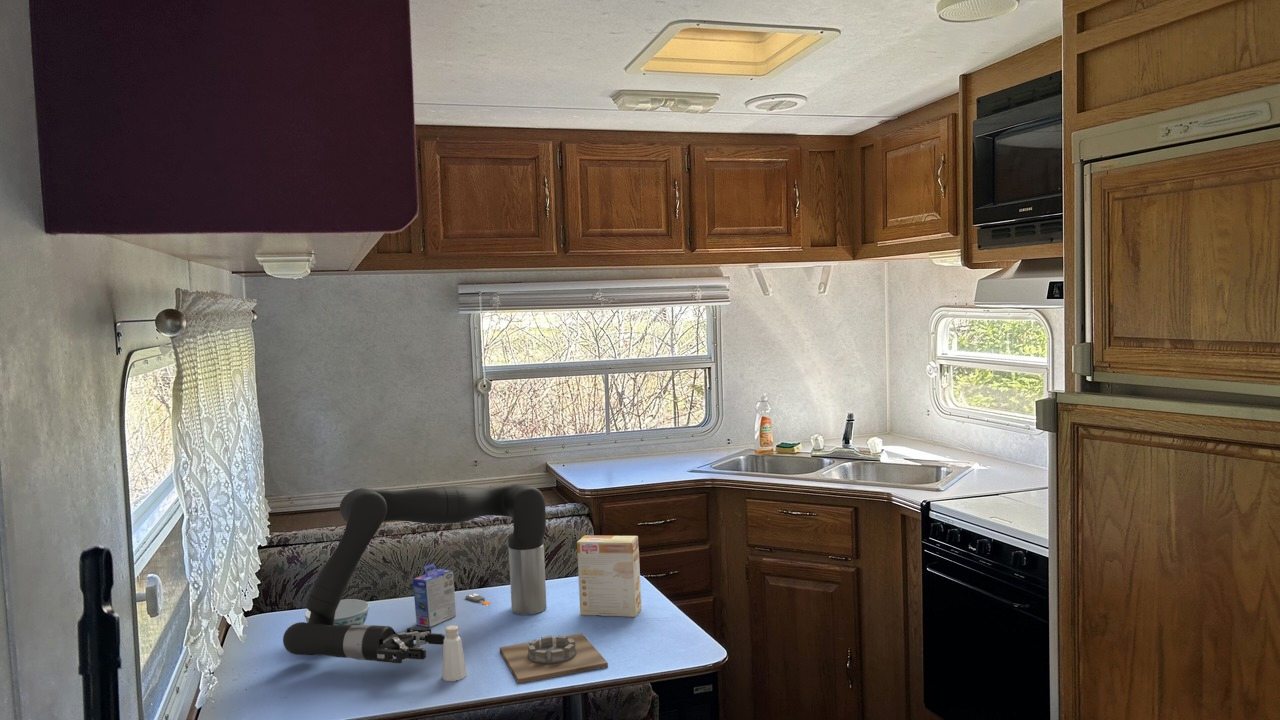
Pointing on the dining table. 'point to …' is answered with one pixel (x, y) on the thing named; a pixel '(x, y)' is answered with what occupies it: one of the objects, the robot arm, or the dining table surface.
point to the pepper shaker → (453, 656)
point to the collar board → (552, 657)
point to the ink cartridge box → (434, 596)
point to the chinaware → (348, 612)
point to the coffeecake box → (609, 575)
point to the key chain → (477, 599)
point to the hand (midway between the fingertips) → (434, 646)
